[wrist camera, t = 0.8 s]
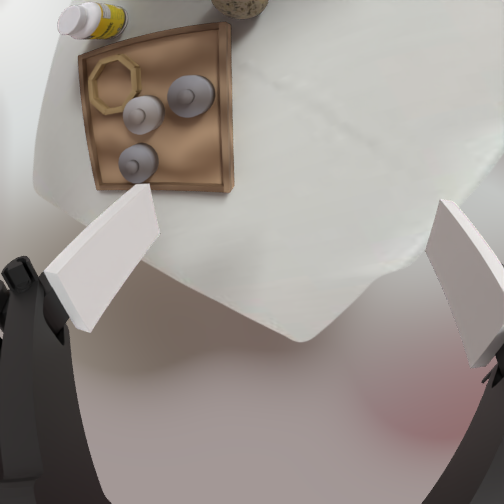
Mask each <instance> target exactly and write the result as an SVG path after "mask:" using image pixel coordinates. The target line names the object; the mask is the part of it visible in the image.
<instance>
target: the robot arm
mask: <svg viewBox="0 0 504 504" xmlns="http://www.w3.org/2000/svg"><path fill="white" fill-rule="evenodd" d="M160 234H161V233H160V229H159V225H158V221H157V216H156V212H155V207H154V203H153V198H152V194H151V189H150V184H136V185H135V186H133V187H132V188H131V189H130V190H128V191H127V192H126V193H125V194H124V195H122V196H121V197H120V198H119V199H118V200H117V201H115V202H114V203H113V204H112V205H111V206H110V207H108V208H107V209H106V210H105V211H104V212H103V213H102V214H101V215H99V216H98V217H97V218H96V219H95V220H94V221H93V222H92V223H91V224H90V225H89V226H88V227H87V228H85V229H84V230H83V231H82V232H81V233H80V234H79V235H78V236H77V237H76V238H75V239H74V240H73V241H72V242H71V243H70V244H69V245H68V246H67V247H66V248H65V249H64V250H63V251H62V252H61V253H60V254H59V255H58V256H57V257H56V258H55V259H54V260H53V261H52V262H51V263H50V265H49V266H48V267H47V268H46V269H45V270H44V271H43V272H42V273H41V275H40V276H39V277H38V275H37V273H36V272H35V270H34V268H33V266H32V264H31V262H30V259H29V258H28V257H27V256H21V257H18V258H16V259H14V260H12V261H11V262H10V263H9V264H7V266H6V267H5V268H4V269H3V271H2V273H1V274H2V276H3V278H4V280H5V281H6V283H7V285H8V287H9V288H10V290H7V288H6V286H5V285H4V283H3V281H1V280H0V329H1V330H2V331H3V333H4V334H3V339H1V337H0V504H111V502H109V500H108V499H107V498H106V497H105V495H104V493H103V491H102V488H101V486H100V483H99V480H98V477H97V474H96V471H95V468H94V465H93V461H92V458H91V455H90V451H89V447H88V444H87V440H86V436H85V432H84V428H83V424H82V419H81V415H80V410H79V404H78V399H77V393H76V387H75V381H74V374H73V366H72V358H71V349H70V336H69V329H68V326H67V325H66V321H67V320H68V319H69V318H70V319H71V321H72V322H73V324H74V326H75V327H76V328H77V329H80V330H83V331H87V332H89V333H90V332H91V331H92V330H93V328H94V326H95V325H96V323H97V322H98V320H99V319H100V317H101V316H102V314H103V313H104V311H105V310H106V308H107V307H108V305H109V304H110V302H111V300H112V299H113V298H114V296H115V295H116V293H117V292H118V291H119V289H120V288H121V286H122V285H123V283H124V282H125V281H126V279H127V278H128V276H129V275H130V274H131V272H132V271H133V270H134V268H135V267H136V265H137V264H138V263H139V261H140V260H141V259H142V257H143V256H144V255H145V253H146V252H147V251H148V249H149V248H150V247H151V245H152V244H153V243H154V241H155V240H156V239H157V238H158V236H159V235H160ZM425 252H426V254H427V256H428V258H429V260H430V262H431V264H432V266H433V269H434V270H435V273H436V275H437V277H438V280H439V282H440V284H441V286H442V289H443V291H444V294H445V296H446V299H447V300H448V304H449V306H450V309H451V311H452V314H453V317H454V319H455V322H456V324H457V328H458V330H459V333H460V336H461V339H462V342H463V345H464V348H465V352H466V355H467V358H468V362H469V365H470V368H478V367H485V366H486V365H487V364H488V363H489V362H490V361H491V359H492V358H493V357H494V356H496V359H497V362H498V363H497V364H496V365H495V366H494V368H493V369H492V370H491V371H490V372H489V373H488V374H487V375H486V376H485V378H484V379H483V380H482V383H484V382H485V381H486V380H487V379H489V381H488V384H487V385H486V389H485V391H484V394H483V396H482V399H481V401H480V404H479V406H478V408H477V411H476V413H475V415H474V417H473V419H472V422H471V424H470V426H469V428H468V430H467V432H466V434H465V436H464V438H463V440H462V441H461V443H460V445H459V447H458V449H457V450H456V452H455V454H454V456H453V458H452V459H451V461H450V462H449V464H448V466H447V467H446V469H445V471H444V472H443V474H442V475H441V477H440V478H439V480H438V482H437V483H436V484H435V486H434V487H433V489H432V490H431V492H430V493H429V494H428V496H427V497H426V498H425V500H424V501H423V502H422V504H504V265H503V264H502V263H501V262H500V261H499V260H498V258H497V257H496V255H495V254H494V252H493V251H492V249H491V248H490V247H489V245H488V244H487V242H486V241H485V240H484V239H483V237H482V236H481V234H480V233H479V232H478V231H477V229H476V228H475V227H474V225H473V224H472V223H471V222H470V220H469V219H468V218H467V217H466V215H465V214H464V213H463V212H462V211H461V209H460V208H459V207H458V206H457V205H456V204H455V202H454V201H449V200H443V199H440V201H439V205H438V209H437V212H436V216H435V220H434V223H433V227H432V230H431V234H430V237H429V240H428V243H427V246H426V250H425Z"/></svg>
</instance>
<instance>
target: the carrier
mask: <svg viewBox="0 0 504 504" xmlns="http://www.w3.org/2000/svg"><path fill="white" fill-rule="evenodd" d="M78 67H79V82H80V93H81V102H82V111H83V119H84V126H85V133H86V139H87V145H88V150H89V156H90V161H91V166H92V171H93V176H94V181H95V185H96V189H97V190H130V189H131V188H132V187H133V186H135V185H136V184H150V189H151V190H175V191H206V192H227V193H230V192H231V190H232V189H233V187H234V156H233V119H232V69H231V25H230V24H229V23H227V22H217V23H208V24H200V25H193V26H186V27H180V28H174V29H169V30H164V31H159V32H155V33H150V34H146V35H142V36H138V37H134V38H131V39H127V40H123V41H120V42H117V43H113V44H110V45H107V46H104V47H101V48H98V49H95V50H93V51H90V52H87V53H84V54H82V55H79V56H78Z"/></svg>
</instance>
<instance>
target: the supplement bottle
mask: <svg viewBox="0 0 504 504" xmlns="http://www.w3.org/2000/svg"><path fill="white" fill-rule="evenodd" d="M127 21H128V15H127V12H126V11H125V9H123V8H122V7H119V6H113V5H108V4H102V3H95V2H86V3H83V4H81V5H79V6H76V5H73V6H69V7H68V8H66V9H65V10H64V11H63V12H62V14H61V15H60V17H59V19H58V23H57V28H58V31H59V33H60V34H62V35H70V36H71V37H72V38H74V39H112V38H115V37H117V36H118V35H119V34H120V33H121V32H122V31H123V30H124V29H125V27H126V25H127Z"/></svg>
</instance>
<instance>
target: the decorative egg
mask: <svg viewBox="0 0 504 504" xmlns="http://www.w3.org/2000/svg"><path fill="white" fill-rule="evenodd" d="M268 1H269V0H212V3H213V5H214V6H215V8H216V9H217V10H218V11H219V12H221V13H222V14H224V15H225V16H228V17H230V18H234V19H248V18H252V17H255V16H257V15H258V14H260V13H261V12H262V11H263V10H264V9H265V8H266V6H267V4H268Z"/></svg>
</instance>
